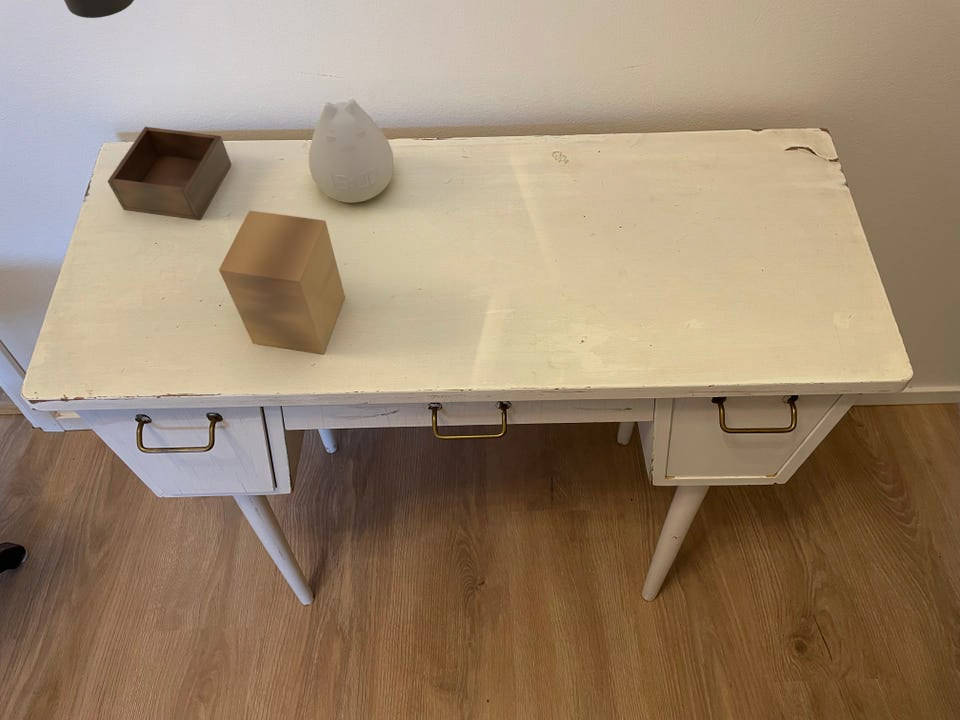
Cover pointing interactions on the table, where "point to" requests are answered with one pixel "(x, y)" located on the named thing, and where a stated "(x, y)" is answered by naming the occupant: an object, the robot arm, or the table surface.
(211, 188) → the bin
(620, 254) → the table surface
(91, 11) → the ball tube
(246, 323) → the stand
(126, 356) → the table surface
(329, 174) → the toy character
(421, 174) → the table surface
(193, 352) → the table surface
